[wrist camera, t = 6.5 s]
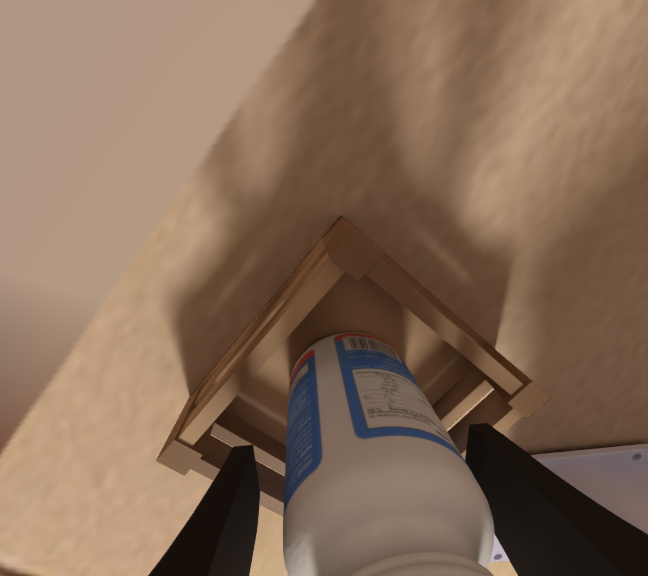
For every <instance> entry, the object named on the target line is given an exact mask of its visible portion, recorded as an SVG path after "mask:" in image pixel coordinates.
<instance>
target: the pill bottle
mask: <svg viewBox="0 0 648 576" xmlns="http://www.w3.org/2000/svg"><path fill="white" fill-rule="evenodd" d="M493 545H494V523H493V517H492V513H491V510H490V507H489V504H488V501H487V499H486V497H485V495H484V493H483V491H482V489H481V488H480V486H479V484H478V483H477V481H476V479H475V477H474V475H473V474H472V472H471V470H470V468H469V467H468V465H467V463H466V462H465V460H464V458H463V457H462V455H461V454H460V452H459V451H458V449H457V447H456V446H455V444H454V443H453V441H452V439H451V438H450V436H449V434H448V433H447V431H446V429H445V428H444V426H443V424H442V423H441V421H440V419H439V418H438V416H437V415H436V413H435V412H434V410H433V408H432V407H431V405H430V403H429V402H428V400H427V398H426V397H425V395H424V394H423V392H422V390H421V389H420V387H419V386H418V384H417V382H416V381H415V379H414V377H413V376H412V374H411V372H410V371H409V369H408V367H407V366H406V364H405V362H404V361H403V359H402V358H401V356H400V355H399V354H398V353H397V351H396V350H395V349H394V348H393V347H392V346H390V345H389V344H388V343H386V342H385V341H383V340H382V339H380V338H377V337H375V336H372V335H369V334H365V333H357V332H346V333H339V334H334V335H331V336H328V337H326V338H323V339H321V340H319V341H318V342H316V343H315V344H313V345H312V346H310V347H309V348H308V349H307V350H306V351H305V352H304V353H303V354H302V355H301V357H300V358H299V359H298V361H297V363H296V364H295V366H294V369H293V371H292V374H291V378H290V384H289V392H288V415H287V439H286V465H285V489H284V514H283V554H284V560H285V566H286V569H287V572H288V575H289V576H493V575H492V574H491V572H490V571H489V570H487V567H488V565H489V562H490V559H491V555H492V551H493Z"/></svg>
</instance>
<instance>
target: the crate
mask: <svg viewBox="0 0 648 576" xmlns="http://www.w3.org/2000/svg"><path fill="white" fill-rule="evenodd" d="M346 332H357V333H365V334H369V335H372V336H375V337H377V338H380V339H382V340H383V341H385V342H386V343H388V344H389V345H390V346H392V347H393V348H394V349H395V350H396V351H397V353H398V354H399V355H400V356H401V358H402V359H403V361H404V362H405V364H406V366H407V367H408V369H409V371H410V372H411V374H412V376H413V377H414V379H415V381H416V382H417V384H418V386H419V387H420V389H421V390H422V392H423V394H424V395H425V397H426V398H427V400H428V402H429V403H430V405H431V407H432V408H433V410H434V412H435V413H436V415H437V416H438V418H439V419H440V421H441V423H442V424H443V426H444V428H445V429H448V428H449V427H450V426H451V425H452V424H453V423H454V422H455V421H456V420H458V419H459V418H460V417H461V416H462V415H463V414H464V413H465V412H466V411H467V410H469V409H470V408H471V407H472V406H473V405H474V404H475V403H476V402H477V401H479V400H480V399H481V398H482V397H483V396H484V395H485V394H486V393H487V392H488V391H490V390H491V389H492V388H494V389H495V390H493V391H492V392H491V393H490V394H489V395H488V396H487V397H486V398H485V399H483V400H482V401H481V402H480V403H479V404H478V405H477V406H476V407H475V408H473V409H472V410H471V411H470V412H469V413H468V414H467V415H466V416H465V417H464V418H462V419H461V420H460V421H459V422H458V423H457V424H456V425H455V426H454V427H452V428H451V429H450V430H449V431H448V432H447V433H448V434H449V436H450V438H451V439H452V441H453V443H454V444H455V446H456V447H457V449H458V451H459V452H460V454H461V455H462V457H463V458H464V460H465V456H466V448H467V440H468V431H469V425H470V424H480V423H488V424H489V425H491V426H492V427H493V428H495V429H496V430H497V431H499V432H500V433H501V434H503V433H504V432H505V431H506V430H508V429H509V428H510V427H511V426H512V425H513V424H515V423H516V422H517V421H518V420H519V419H520V418H522V417H523V416H524V417H525V418H526V419H527V418H528V417H530V416H531V415H532V414H533V413H534V412H535V411H537V410H538V409H539V408H540V407H541V406H543V405H544V404H545V403H546V402H547V401H548V400H550V399H551V397H550V396H549V395H548V394H546V393H545V392H544V391H543V390H542V389H541V388H540V387H538V386H537V385H536V384H535V383H534V382H533V381H532V380H530V379H529V378H528V377H527V376H526V375H525V374H523V373H522V372H521V371H520V370H519V369H517V368H516V367H515V366H514V365H513V364H512V363H510V362H509V361H508V360H507V359H506V358H505V357H503V356H502V355H501V354H500V353H499V352H497V351H496V350H495V349H494V348H493V347H492V346H490V345H489V344H488V343H487V342H486V341H485V340H483V339H482V338H481V337H480V336H479V335H478V334H477V333H475V332H474V331H473V330H472V329H471V328H470V327H469V326H467V325H466V324H465V323H464V322H463V321H462V320H461V319H459V318H458V317H457V316H456V315H455V314H454V313H453V312H451V311H450V310H449V309H448V308H447V307H446V306H445V305H443V304H442V303H441V302H440V301H439V300H438V299H437V298H435V297H434V296H433V295H432V294H431V293H430V292H428V291H427V290H426V289H425V288H424V287H423V286H422V285H420V284H419V283H418V282H417V281H416V280H415V279H414V278H412V277H411V276H410V275H409V274H408V273H407V272H406V271H404V270H403V269H402V268H401V267H400V266H399V265H398V264H396V263H395V262H394V261H393V260H392V259H391V258H390V257H388V256H387V255H386V254H385V253H384V251H383V250H382V249H381V248H380V247H378V246H377V245H376V244H375V243H374V242H373V241H372V240H370V239H369V238H368V237H367V236H366V235H365V234H363V233H362V232H361V231H360V230H359V229H358V228H357V227H355V226H354V225H353V224H352V223H350V222H349V221H348V220H346V219H345V218H344V217H343V216H340V217H339V218H338V219H337V221H336V222H335V223H334V224H333V225H332V227H331V228H330V229H329V230H328V231H327V233H326V234H325V235H324V236H323V237H322V239H321V240H320V241H319V242H318V243H317V245H316V246H315V247H314V248H313V249H312V251H311V252H310V253H309V254H308V255H307V257H306V258H305V259H304V260H303V261H302V263H301V264H300V265H299V266H298V267H297V269H296V270H295V271H294V272H293V273H292V275H291V276H290V277H289V278H288V279H287V281H286V282H285V283H284V284H283V285H282V287H281V288H280V289H279V290H278V291H277V293H276V294H275V295H274V296H273V297H272V299H271V300H270V301H269V302H268V303H267V305H266V306H265V307H264V308H263V309H262V311H261V312H260V313H259V314H258V316H257V317H256V318H255V319H254V320H253V322H252V323H251V324H250V325H249V326H248V328H247V329H246V330H245V331H244V332H243V334H242V335H241V336H240V337H239V338H238V340H237V341H236V342H235V343H234V344H233V346H232V347H231V348H230V349H229V350H228V352H227V353H226V354H225V355H224V356H223V358H222V359H221V360H220V361H219V362H218V364H217V365H216V366H215V367H214V368H213V370H212V371H211V372H210V373H209V374H208V376H207V377H206V378H205V379H204V380H203V382H202V383H201V384H200V385H199V386H198V388H197V389H196V390H195V391H194V392H193V394H192V395H191V396H190V397H189V399H188V401H187V403H186V405H185V407H184V408H183V410H182V412H181V414H180V416H179V418H178V420H177V422H176V424H175V426H174V428H173V429H172V431H171V433H170V435H169V437H168V439H167V441H166V443H165V445H164V447H163V448H162V450H161V452H160V454H159V456H158V458H157V460H156V461H157V462H159V463H161V464H163V465H165V466H167V467H169V468H171V469H173V470H175V471H177V472H179V473H180V474H182V475H184V476H185V475H186V474H187V472H188V471H189V470H190V469H192V470H194V471H196V472H198V473H200V474H202V475H204V476H206V477H208V478H210V479H212V480H214V479H215V477H216V476H217V474H218V472H219V471H220V469H221V467H222V465H223V463H224V462H225V460H226V458H227V456H228V454H229V453H230V451H231V449H232V447H231V446H233V447H234V446H244V445H253V448H254V454H255V459H256V460H258V461H260V462H261V463H263V464H265V465H267V466H269V467H270V468H272V469H274V470H276V471H278V472H279V473H281V474H283V475H285V465H286V439H287V415H288V392H289V384H290V378H291V374H292V371H293V369H294V366H295V364H296V363H297V361H298V359H299V358H300V357H301V355H302V354H303V353H304V352H305V351H306V350H307V349H308V348H309V347H310V346H312V345H313V344H315V343H316V342H318V341H319V340H321V339H323V338H326V337H328V336H331V335H334V334H339V333H346ZM210 434H211V435H213V436H215V437H217V438H219V439H220V440H222V441H224V442H226V443H228V444H229V445H231V446H229V445H227V444H225V443H223V442H222V441H220V440H218V439H216V438H214V437H213V436H211V435H210ZM256 460H255V461H256ZM261 463H259V462H257V461H256V467H257V474H258V480H259V487H260V502H259V504H260V505H262V506H264V507H266V508H268V509H270V510H271V511H273V512H275V513H277V514H279V515H281V516H283V514H284V489H285V477H284V476H282V475H281V474H279V473H277V472H275V471H274V470H272V469H270V468H268V467H266V466H265V465H263V464H261Z"/></svg>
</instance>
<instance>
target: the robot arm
mask: <svg viewBox="0 0 648 576" xmlns="http://www.w3.org/2000/svg"><path fill="white" fill-rule="evenodd" d="M465 462H466V463H467V465H468V467H469V468H470V470H471V472H472V474H473V475H474V477H475V479H476V481H477V483H478V484H479V486H480V488H481V489H482V491H483V493H484V495H485V497H486V499H487V501H488V504H489V507H490V510H491V513H492V517H493V523H494V545H493V551H492V555H491V559H490V562H489V563H492V562H501V561H509V560H510V562H511V564H512V566H513V567H514V569H515V571H516V573H517V574H518V576H648V443H647V444H637V445H627V446H617V447H607V448H596V449H586V450H576V451H566V452H556V453H546V454H536V455H529V454H528V453H527V452H525V451H524V450H523V449H521V448H520V447H519V446H517V445H516V444H515V443H513V442H512V441H511V440H509V439H508V438H507V437H505V436H504V435H503V434H501V433H500V432H499V431H497V430H496V429H495V428H493V427H492V426H491V425H489V424H488V423H480V424H470V425H469V431H468V440H467V448H466V456H465ZM259 502H260V487H259V480H258V474H257V467H256V461H255V454H254V448H253V445H244V446H234V447H233V448H232V449H231V451H230V453H229V454H228V456H227V458H226V460H225V462H224V463H223V465H222V467H221V469H220V471H219V472H218V474H217V476H216V477H215V479H214V481H213V482H212V484H211V486H210V487H209V489H208V491H207V492H206V494H205V495H204V497H203V498H202V500H201V502H200V503H199V505H198V506H197V508H196V509H195V511H194V513H193V514H192V516H191V517H190V519H189V520H188V522H187V523H186V524H185V526H184V527H183V529H182V530H181V532H180V533H179V534H178V536H177V537H176V539H175V540H174V542H173V543H172V545H171V546H170V547H169V549H168V550H167V551H166V553H165V554H164V556H163V557H162V558H161V560H160V561H159V562H158V564H157V565H156V566H155V568H154V569H153V570H152V571H151V573H150V574H149V575H148V576H249V573H250V567H251V562H252V556H253V550H254V545H255V539H256V533H257V526H258V515H259Z"/></svg>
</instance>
